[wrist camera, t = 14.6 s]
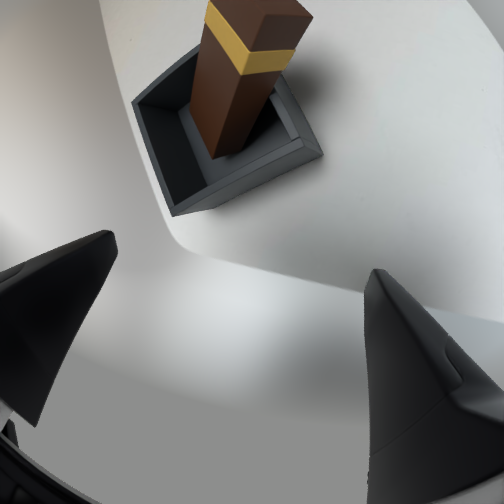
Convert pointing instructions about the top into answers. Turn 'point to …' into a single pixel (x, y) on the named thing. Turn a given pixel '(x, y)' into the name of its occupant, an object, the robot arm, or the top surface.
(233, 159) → the waste bin
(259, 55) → the chocolate bar
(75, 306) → the robot arm
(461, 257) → the top surface
